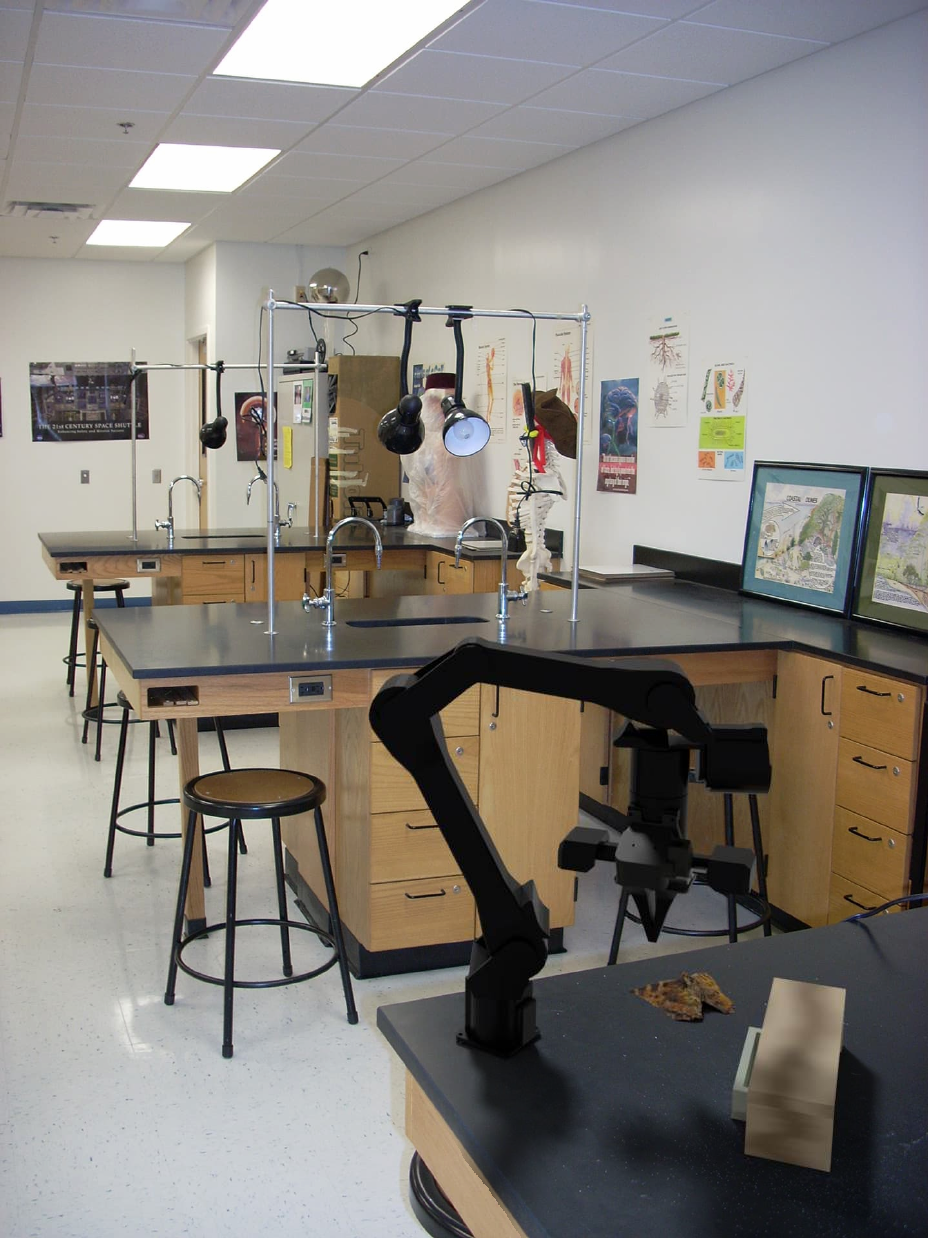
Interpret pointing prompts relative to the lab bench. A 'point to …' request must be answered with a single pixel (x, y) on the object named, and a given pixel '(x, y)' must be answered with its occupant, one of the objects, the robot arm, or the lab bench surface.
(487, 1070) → the lab bench surface
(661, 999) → the butterfly model
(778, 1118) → the tan rectangular block
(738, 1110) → the tray
